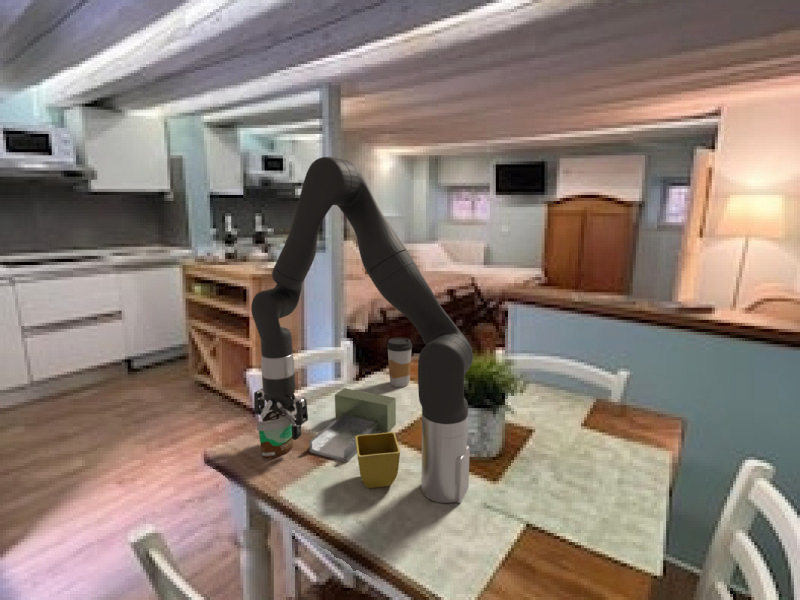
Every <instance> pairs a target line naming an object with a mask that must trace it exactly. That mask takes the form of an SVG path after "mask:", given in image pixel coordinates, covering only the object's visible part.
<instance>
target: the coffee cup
mask: <svg viewBox="0 0 800 600" xmlns="http://www.w3.org/2000/svg"><path fill="white" fill-rule="evenodd" d="M386 349H387V357H388V361H387V364H388V371H389V373H388V374H389V383H390V384H391V386H393V387H395V388H405V387H407V386H408V385H409V384H410V378H411V377H410V375H411V367H412V365H411V364H412V349H413V343H412V342H411V339H410V338H406V337H393V338H390V339H389V340H388V341H387V345H386Z"/></svg>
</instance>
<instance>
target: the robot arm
mask: <svg viewBox="0 0 800 600" xmlns="http://www.w3.org/2000/svg"><path fill="white" fill-rule="evenodd" d="M304 177H305V178H304V181H303V183H302V188H301V191H300V195H299V199H298V202H297V205H296V209H295V213H294V215H293V220H292V224H291V226H290V230H289V232H288V235H287V237H286V240H285V242H284V245H283V247H282V249H281V252H280V254H279V255H278V258H277V260H276V262H275V265H274V267H273V269H272V272H271V273H272V274H271V276H272V280H273V281H274V283H275V286H274V287H273V288H269V289H266V290H262V291H259V292H258V293H256V294H255V295H254V296H253V298H252V301H251V306H250V307H251V315H252V319H253V321H254V324H255V327H256V330H257V333H258V336H259V338H260V347H261V348H260V350H261V362H260V363H261V365H260V367H261V379H262V380H261V381H262V383H261V384H262V388H260V389H258V390H256V391H255V392H254V394H253V405H254V407H253V408H254V409H253V410H254V411H253V412H254V414H255V415H259V416H260V418H261V421H263V420H264V419H265V418H266V417H267V416H268V414H269V413H270V412H272V411H273V412H278V413H280V414H284V416H285V417H286V419H289V421H290V422H291V424H292V439H293V440H294V441H296V440H297V439H299V438H300V437H301V436H302V425H304V424H305V423H306V422H308V421H309V414H308V413H309V412H308V404H307V402H308V401H307V399H306V397H301V398H297V397H296V395H295V391H296V376H295V375H296V370H295V368H296V367H295V357H294V353H293V350H294V349H293V335H292V332H291V331H290V329H288V327H287V328H286V327H283V326H281V324H280V319H282V318H285V317H287V316H289V315H291V314H292V313H293V312H294V311H295V309H296V308H297V306H298V304H299V301H300V298H301V297H300V296H301V292H302V288H303V283H304V281H305V279H306V278H307V275H308V273H309V271H310V269H311V268H312V265H313V263H314V260H315V258H316V253H317V245H318V237H319V235H318V234H319V231H320V227H321V225H322V223H323V221H324V219H325V217H326V216H327V214H328V212H329V211H330V210H331V208H332V207H333V206H337V207H338V208H339V209H340V211H341V212H342V213H343V215H344V216H345V217H346V219H347V221H348V222H349V223H350V225H351V227H352V229H353V231H354V234H355V236H356V240H357V244H358V245H357V247H358V251H359V256H360V259H361V262H362V264H363V268H364V270H365V272H366V273H367V275H368V276H369V279H371V281H372V283H373V284H374V286H375V288H376V289H377V290H378V292H379V293H380V295H381V296H382V297H383V299H385V300H386V301H387V302H388V303H389V304H390V305H391V306H393V307H394V308H395V309H396V310H398V311H399V312H400V313H401V314H403V316H405V317H406V318H407V319H408V320H409V321H410V322H411V323H412V325H413V326H414V327H415V329H416V331H418V334H419V335H420V338H421V339H422V341H423V343H424V344H425V346H424V347H423V348H422V350H421V351H420V353H419V356H418V361H417V386H418V389H417V390H418V400H419V404H420V406H421V481H420V482H421V492H422V494H423V495H424V496H425V497H426V498H427V499H429V500H431V501H432V502H436V503H441V504H450V503H451V504H452V503H458V504H461V503H462V500H463V499H464V498H465V494H466V493H467V490H468V489H469V486H470V485H469V483H470V482H469V481H470V480H469V479H470V456H471V455H470V453H471V452H470V451H471V450H470V449H471V447H470V445H468V422H469V419H468V417H469V404H468V403H469V402H468V400H467V399H466V398H465V374H467V372H468V371H469V369H470V368H471V366H472V364H473V361H474V355H473V354H474V353H473V349H472V345H471V343H470V341H468V339H467V338H466V336H465V335H464V333H463V332H462V331H461V330H460V329H459V328H458V326H457V325H456V324H455V322H454V321H453V320H452V318H451V317H450V316H449V315H448V314H447V311H445V310H444V308H443V307H442V305H441V304H440V302H439V300H438V299H437V298H436V295H435V294H434V292H433V291H432V289H431V287H430V286H429V283H428V282H427V281H426V279H425V277H424V276H423V274H422V273H421V271H420V269H419V268H418V266H417V265H416V263H415V261H414V259H413V258H412V255H410V253H409V252H408V250H407V248H406V246H404V244H403V243H402V241H401V239H400V238H399V236H398V235H397V234H396V232H395V230H394V229H393V227H392V226H391V224H390V222H389V220H387V218H386V217H385V215H384V214H383V212H382V210H381V209H380V207H379V205H378V203H377V202H376V200H375V197H374V195H373V194H372V191H371V189H370V188H369V185H368V183H367V181H366V180H365V177H364V175H363V173H362V172H361V170H360V169H359V168H358V167H357V166H356V165H355V164H354V163H353V162H352V161H349V160H348V159H347V160H346V159H341V158H337V157H331V156H323V157H319V158H316V159H315V160H314V161H313V162H312V163H311V164H310V166H309V168H308V170H307V172H306V174H305V176H304ZM291 409H292V413H289V412H288V411H290V410H291ZM293 416H294V417H295V419H294V417H293Z"/></svg>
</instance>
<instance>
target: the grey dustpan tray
mask: <svg viewBox="0 0 800 600" xmlns="http://www.w3.org/2000/svg"><path fill="white" fill-rule="evenodd" d="M396 399H397V398H396V397H394V396H388V395H383V394H377V393H372V392H367V391H366V392H365V391H362V390H357V389H351V388H346V387H345V388H342V389H341V390H339V391H338V392H337V393H335V394H334V409H335V410H334V411H335V412H334V413H335V419H334V420H333V422H331V423H330V424H328V425H327V426H326V427H325V428H323V429H322V430H320V432H318V434H316V435H315V436H313V437H312V438H311V439H310V440H308V443H309V453H311V454H314V455H319V456H322V457H325V458H326V457H327V458H329V457H330V459H333V458H334V460H338V461H341V462H345V463H348V462H349V461H351V459H353V458H354V457H355V456H356V454H357V447H356V439H355V436H357V435H367V434H376V433H377V434H379V432H380V433H383V432H384V433H387V432H392V430H393V429H394V428H395V427H394V426H395V425H396V426H397V424H396V423H397V414H396V413H397V412H396V411H397V407H396V406H397V405H396ZM393 427H394V428H393ZM392 428H393V429H392ZM391 429H392V430H391Z"/></svg>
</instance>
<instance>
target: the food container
mask: <svg viewBox="0 0 800 600" xmlns="http://www.w3.org/2000/svg"><path fill="white" fill-rule="evenodd" d="M288 412H289V413H292V409H291V410H290V411H288ZM293 417H294V416H293ZM294 419H295V420H296V418H295V417H294ZM256 431H257V432H258V435H259V441H260V449H261V456H262V459H263V460H264V459H275V458H279V457H283V456H285V455H287V454H288V453H290V452H291V450H292V449H293V444H294V443H293V442H294V441H293V439H292V424H291V422H290V421H289V419H286V417H285V416H284V414H280V413H278V412H273V411H272V412H270V413H269V414H268V416H267V417H266V418H265V419H264V420H263V421H262V420H261V421H259V420H258V421H257V424H256Z"/></svg>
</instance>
